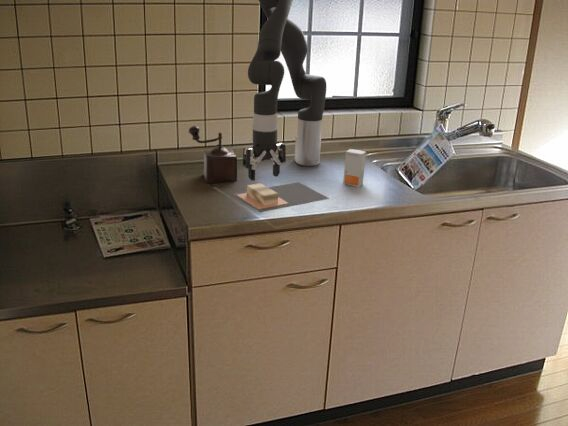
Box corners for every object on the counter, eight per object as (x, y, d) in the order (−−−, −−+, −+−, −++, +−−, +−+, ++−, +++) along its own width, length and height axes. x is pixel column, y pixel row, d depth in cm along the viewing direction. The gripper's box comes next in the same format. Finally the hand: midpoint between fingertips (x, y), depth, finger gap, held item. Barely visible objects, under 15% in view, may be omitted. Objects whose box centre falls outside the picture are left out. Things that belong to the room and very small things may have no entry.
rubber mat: (232, 195, 196) (232, 193, 196) (298, 183, 209) (298, 181, 209) (260, 213, 182) (260, 211, 182) (329, 200, 196) (329, 197, 195)
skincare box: (342, 184, 211) (345, 151, 206) (347, 181, 214) (350, 148, 210) (358, 187, 208) (362, 154, 204) (363, 184, 212) (366, 151, 207)
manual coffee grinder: (231, 172, 218) (232, 123, 211) (237, 182, 208) (238, 131, 201) (188, 174, 214) (187, 124, 207) (192, 184, 204) (191, 132, 197)
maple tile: (278, 203, 189) (278, 193, 188) (264, 205, 186) (264, 196, 185) (260, 192, 197) (260, 183, 196) (246, 194, 195) (246, 185, 194)
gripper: (251, 133, 177) (250, 185, 183) (291, 127, 184) (289, 178, 190) (238, 127, 182) (238, 178, 189) (278, 122, 190) (276, 171, 196)
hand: (264, 177), depth 189 cm, fingers open, 8 cm apart
